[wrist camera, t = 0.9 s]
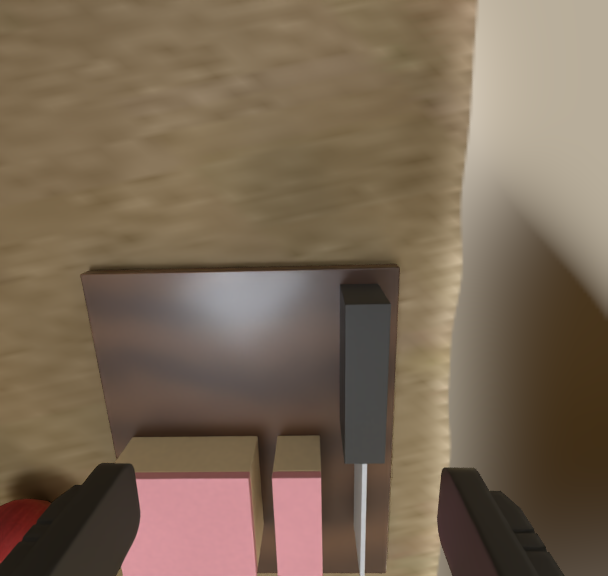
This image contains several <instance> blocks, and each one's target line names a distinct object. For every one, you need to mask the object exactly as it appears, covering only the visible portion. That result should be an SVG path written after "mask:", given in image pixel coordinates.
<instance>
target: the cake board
mask: <svg viewBox="0 0 608 576" xmlns="http://www.w3.org/2000/svg"><path fill="white" fill-rule="evenodd" d="M399 274H400V268H399V266H398V265H397V264H376V265H330V266H283V267H236V268H190V269H143V270H96V271H87V272H85V273H82V274H81V280H82V285H83V290H84V295H85V300H86V306H87V311H88V316H89V321H90V326H91V331H92V336H93V341H94V346H95V351H96V357H97V362H98V367H99V372H100V377H101V382H102V387H103V392H104V397H105V403H106V408H107V413H108V418H109V423H110V428H111V433H112V438H113V443H114V448H115V454H116V459H118V457H119V456H120V454H121V453H122V452H123V450H124V449H125V447H126V446H127V444H128V443H129V442H130V440H131V439H132V438H133V437H207V436H257V437H258V450H259V464H260V478H261V492H262V506H263V520H264V527H263V534H262V541H261V548H260V555H259V563H258V570H257V573H277V556H276V540H275V523H274V507H273V491H272V473H273V466H274V458H275V451H276V444H277V437H278V436H312V435H319V436H320V456H321V497H322V556H323V573H359V564H358V556H357V548H356V539H355V531H354V464H345V463H344V454H343V446H342V437H341V428H340V284H379V286H380V287H381V289H382V291H383V292H384V294H385V295H386V297H387V298H388V300H389V301H390V303H391V321H390V347H389V372H388V398H387V423H386V449H385V463H382V464H367V494H366V537H365V573H386V565H387V543H388V520H389V498H390V475H391V453H392V431H393V408H394V386H395V363H396V341H397V318H398V296H399Z"/></svg>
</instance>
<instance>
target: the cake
mask: <svg viewBox="0 0 608 576" xmlns="http://www.w3.org/2000/svg"><path fill="white" fill-rule="evenodd" d="M115 463H130V464H132V465H133V467H134V470H135V476H136V483H137V490H138V497H139V504H140V524H139V528H138V532H137V535H136V538H135V540H134V542H133V544H132V546H131V548H130V550H129V551H128V553H127V555H126V557H125V559H124V561H123V563H122V565H121V568H122V572H123V576H257V570H258V563H259V555H260V548H261V541H262V534H263V527H264V520H263V506H262V492H261V478H260V464H259V450H258V437H257V436H207V437H133V438H132V439H131V440H130V442H129V443H128V444H127V446H126V447H125V449H124V450H123V452H122V453H121V454H120V456H119V457H118V459H117V460H116V462H115Z"/></svg>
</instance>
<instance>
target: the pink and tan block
mask: <svg viewBox="0 0 608 576" xmlns="http://www.w3.org/2000/svg"><path fill="white" fill-rule="evenodd" d="M272 491H273V507H274V523H275V540H276V556H277V573H278V576H323V556H322V497H321V456H320V436H319V435H312V436H278V437H277V444H276V451H275V458H274V466H273V473H272Z"/></svg>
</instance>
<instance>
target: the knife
mask: <svg viewBox="0 0 608 576" xmlns="http://www.w3.org/2000/svg"><path fill="white" fill-rule="evenodd" d="M390 321H391V303H390V301H389V300H388V298H387V297H386V295H385V294H384V292H383V291H382V289H381V287H380V286H379V284H340V428H341V437H342V446H343V454H344V463H345V464H354V531H355V539H356V548H357V556H358V564H359V573H360V576H365V537H366V494H367V464H382V463H385V449H386V423H387V398H388V372H389V347H390Z"/></svg>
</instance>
